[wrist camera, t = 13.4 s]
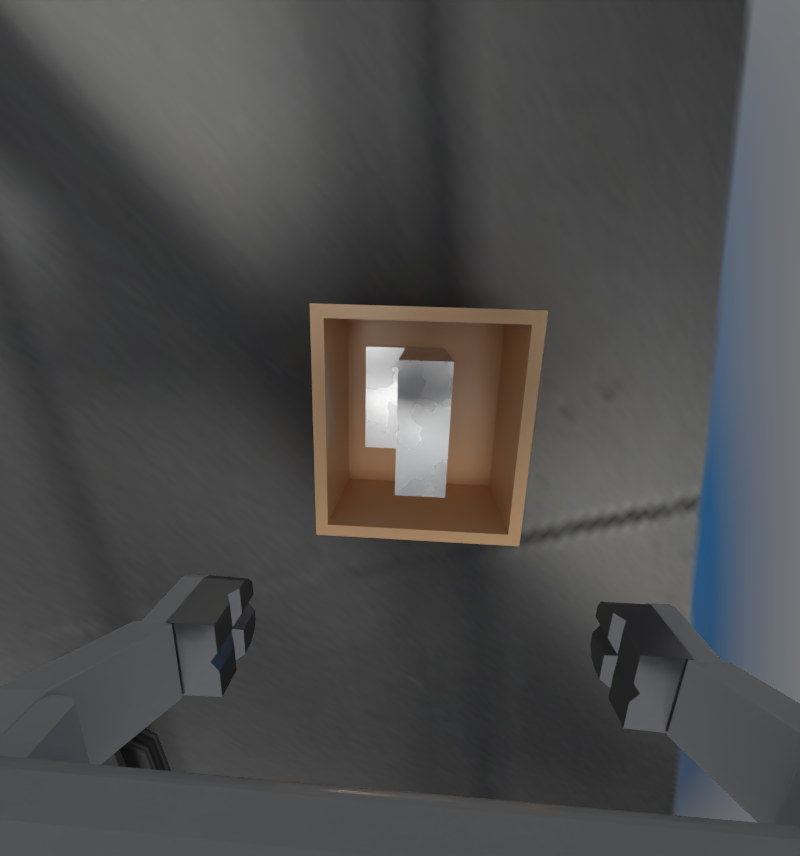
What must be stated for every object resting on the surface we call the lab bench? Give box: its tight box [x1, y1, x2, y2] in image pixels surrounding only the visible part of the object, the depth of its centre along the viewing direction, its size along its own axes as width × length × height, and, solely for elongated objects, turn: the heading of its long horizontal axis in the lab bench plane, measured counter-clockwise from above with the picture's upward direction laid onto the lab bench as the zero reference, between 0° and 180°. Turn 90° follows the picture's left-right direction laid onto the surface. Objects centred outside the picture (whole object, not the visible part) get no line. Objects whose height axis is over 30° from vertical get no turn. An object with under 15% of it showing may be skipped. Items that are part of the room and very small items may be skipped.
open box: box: [310, 303, 548, 546], centre depth 29 cm, size 15×14×9 cm
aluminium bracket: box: [365, 345, 454, 498], centre depth 28 cm, size 8×6×10 cm
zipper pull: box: [101, 729, 171, 771], centre depth 43 cm, size 9×7×25 cm
